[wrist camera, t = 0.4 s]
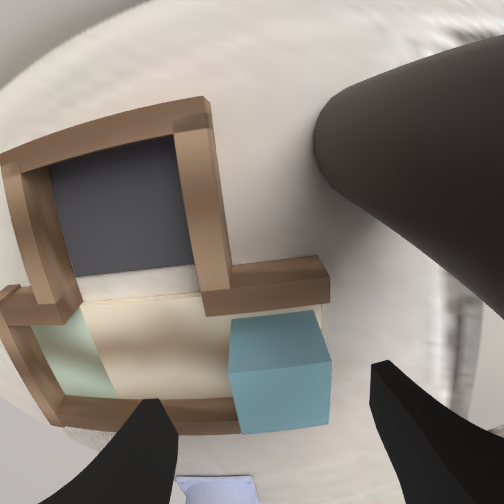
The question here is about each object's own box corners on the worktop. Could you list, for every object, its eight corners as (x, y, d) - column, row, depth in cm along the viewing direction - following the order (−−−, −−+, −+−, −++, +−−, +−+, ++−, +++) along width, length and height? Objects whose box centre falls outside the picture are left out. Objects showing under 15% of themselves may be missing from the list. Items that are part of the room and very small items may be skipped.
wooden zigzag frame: (319, 396, 23) (326, 425, 20) (63, 402, 23) (51, 425, 21) (303, 92, 16) (315, 84, 13) (-23, 170, 16) (-50, 178, 13)
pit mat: (202, 261, 19) (201, 262, 19) (76, 275, 19) (75, 276, 19) (181, 129, 16) (180, 128, 16) (49, 160, 16) (48, 161, 16)
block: (314, 370, 21) (328, 423, 16) (242, 378, 21) (242, 434, 17) (313, 309, 19) (331, 360, 15) (231, 319, 19) (227, 373, 15)
